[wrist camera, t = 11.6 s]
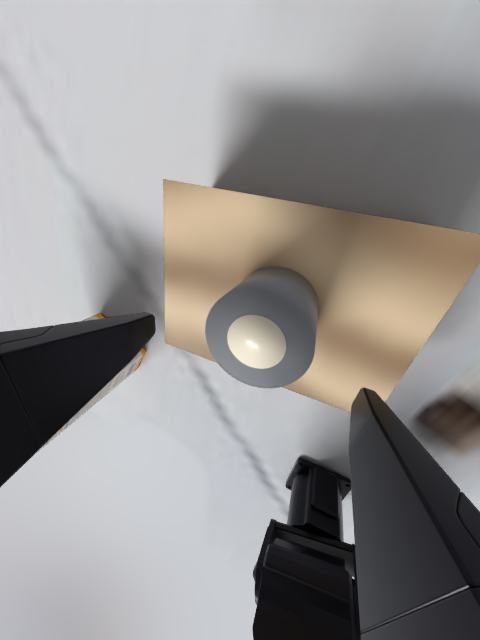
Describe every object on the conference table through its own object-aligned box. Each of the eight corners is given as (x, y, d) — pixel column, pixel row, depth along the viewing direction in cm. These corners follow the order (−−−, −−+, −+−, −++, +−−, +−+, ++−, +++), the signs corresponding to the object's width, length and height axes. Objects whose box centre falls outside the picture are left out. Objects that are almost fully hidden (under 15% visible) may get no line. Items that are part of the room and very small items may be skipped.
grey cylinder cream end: (304, 353, 15) (295, 403, 11) (232, 329, 16) (201, 367, 12) (331, 278, 12) (333, 308, 8) (244, 257, 13) (209, 274, 10)
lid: (370, 411, 16) (371, 420, 15) (170, 338, 20) (165, 343, 19) (485, 235, 10) (497, 236, 9) (171, 180, 14) (163, 179, 13)
